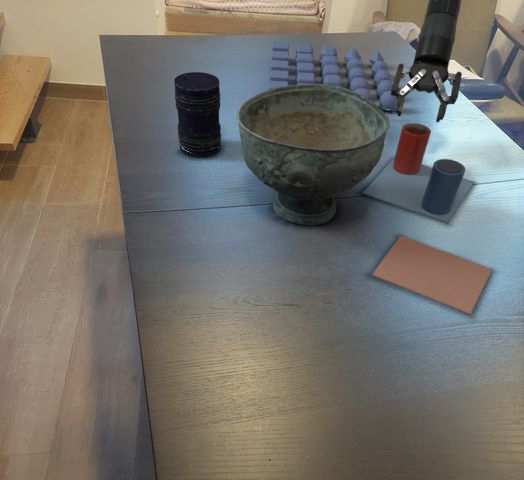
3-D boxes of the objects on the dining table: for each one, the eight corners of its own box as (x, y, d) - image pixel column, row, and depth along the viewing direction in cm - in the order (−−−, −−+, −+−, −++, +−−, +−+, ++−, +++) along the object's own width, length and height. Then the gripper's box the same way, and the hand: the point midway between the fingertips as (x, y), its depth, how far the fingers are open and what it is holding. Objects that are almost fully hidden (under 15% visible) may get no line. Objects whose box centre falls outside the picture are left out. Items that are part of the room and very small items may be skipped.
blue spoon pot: (454, 204, 108) (469, 164, 101) (445, 218, 104) (460, 177, 97) (426, 195, 110) (439, 155, 103) (416, 208, 106) (429, 168, 99)
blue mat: (473, 183, 115) (474, 181, 114) (447, 223, 103) (448, 222, 103) (395, 158, 121) (395, 156, 120) (362, 194, 110) (362, 192, 109)
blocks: (271, 58, 159) (272, 41, 156) (381, 65, 160) (385, 48, 156) (268, 107, 136) (269, 87, 132) (396, 115, 136) (401, 95, 133)
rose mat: (491, 270, 94) (492, 269, 94) (469, 315, 86) (470, 313, 86) (400, 237, 100) (400, 235, 99) (371, 275, 92) (372, 274, 91)
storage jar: (228, 144, 122) (228, 77, 110) (208, 162, 116) (206, 94, 104) (192, 134, 124) (188, 68, 113) (171, 151, 118) (164, 83, 107)
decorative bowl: (392, 200, 107) (412, 103, 92) (333, 264, 93) (346, 162, 78) (286, 165, 117) (289, 72, 102) (218, 218, 103) (210, 119, 88)
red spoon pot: (423, 166, 118) (435, 127, 111) (414, 178, 114) (425, 138, 107) (398, 158, 120) (408, 119, 113) (388, 169, 116) (398, 130, 109)
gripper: (464, 56, 114) (447, 129, 115) (400, 48, 116) (384, 120, 117) (473, 38, 107) (455, 116, 108) (405, 29, 109) (387, 105, 110)
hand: (418, 118), depth 113 cm, fingers open, 8 cm apart
